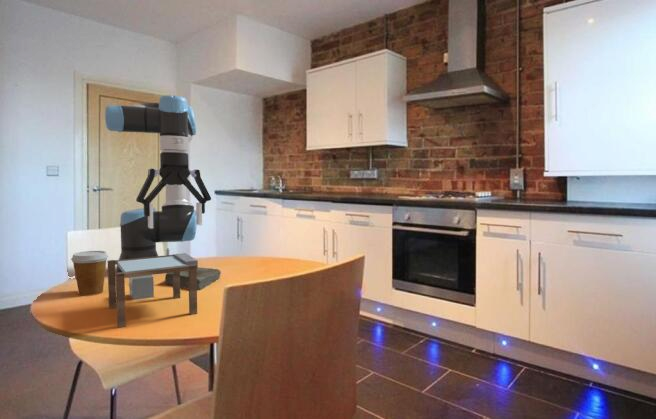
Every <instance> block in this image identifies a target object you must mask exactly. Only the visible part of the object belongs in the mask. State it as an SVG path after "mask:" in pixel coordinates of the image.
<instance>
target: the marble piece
mask: <svg viewBox="0 0 656 419" xmlns="http://www.w3.org/2000/svg"><path fill="white" fill-rule="evenodd" d="M221 273H222V272H221V270H220V269H218V268H207V267H199V266H198V269H197V291H200V290H203V289H205V288H207V287H208V286H210V285H212V284H214V283H215V282H217V281H219V280H220V279H221V278H220V277H221ZM218 279H219V280H218ZM164 280H165V281H164V282H165V284H167V285H169V286H172V287H173V272H172V273H165V278H164ZM216 280H217V281H216ZM211 283H212V284H211ZM206 286H207V287H206ZM180 288H183V289H187V288H188V290H189V271H180Z"/></svg>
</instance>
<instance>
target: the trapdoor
mask: <svg viewBox="0 0 656 419" xmlns="http://www.w3.org/2000/svg"><path fill="white" fill-rule="evenodd" d="M173 254H174V256H169V257H159V258H148V259H138V260H128V261H117V264H118V267H119V268H120V269H121V271H122V272H124V273H127V272H136V271H145V270H154V269H162V268H171V267H180V266H188V265H192V264H195V265H197V269H198V267H199V263H198V259H196V258H195V257H192V256H191V255H189V254H188V253H186V252H185V253H184V252H183V253H173Z"/></svg>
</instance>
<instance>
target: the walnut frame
mask: <svg viewBox="0 0 656 419" xmlns="http://www.w3.org/2000/svg"><path fill="white" fill-rule="evenodd" d="M174 254H175V253H173V254H168V255H158V256H155V257H144V258H133V259H123V260H119V259H112V260H107V280H108V281H107V283H108V284H107V286H108V287H107V288H108V291H107V292H108V307H109V309H114V308H116V325H117V328H119V329H120V328H124V327H127V321H126V320H127V319H126V287H125V286H126V284H125V283H126V282H125V281H126V280H125V279H127V278H128V279H129V278H130V277H138V276H147V275H152V276H154V275H161V274H167V273H172V272H173V286H172V288H173V289H172V292H173V293H172V296H173V298H174V299H179V298H181V287H180V271H189V289H188V311H189V312H188V313H189V314H190V315H191V316H192V315H197V314H198V290H197V265H195V264H192V265H188V266H180V267H171V268H162V269H154V270H145V271H136V272H127V273H124V272H119V273H116V266H117V265H118V264H117V261H128V260H138V259H148V258H159V257H169V256H174Z"/></svg>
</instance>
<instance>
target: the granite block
mask: <svg viewBox="0 0 656 419" xmlns="http://www.w3.org/2000/svg"><path fill="white" fill-rule="evenodd" d="M128 279H129V280H128V281H129V285H128V286H129V297H130V298H131V300H132V301H137V300H144V299H150V298H154V297H155V290H154V287H155V286H154V282H155V281H154V275H147V276H138V277H130V278H128Z"/></svg>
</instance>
